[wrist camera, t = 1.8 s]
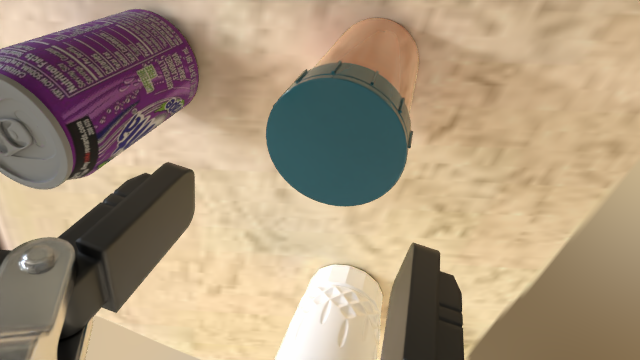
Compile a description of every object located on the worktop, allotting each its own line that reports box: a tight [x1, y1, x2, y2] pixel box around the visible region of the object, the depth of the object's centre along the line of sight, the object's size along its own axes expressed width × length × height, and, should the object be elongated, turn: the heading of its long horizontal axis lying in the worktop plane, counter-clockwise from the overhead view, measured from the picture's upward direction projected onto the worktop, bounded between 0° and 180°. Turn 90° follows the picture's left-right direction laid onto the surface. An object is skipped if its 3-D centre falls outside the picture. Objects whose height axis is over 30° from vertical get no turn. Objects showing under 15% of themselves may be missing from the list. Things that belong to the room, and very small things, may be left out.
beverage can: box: [0, 9, 199, 189], centre depth 23 cm, size 7×7×12 cm
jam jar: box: [314, 18, 419, 114], centre depth 20 cm, size 5×5×11 cm
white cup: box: [274, 264, 383, 360], centre depth 32 cm, size 8×8×10 cm
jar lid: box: [266, 61, 413, 206], centre depth 16 cm, size 6×6×2 cm
